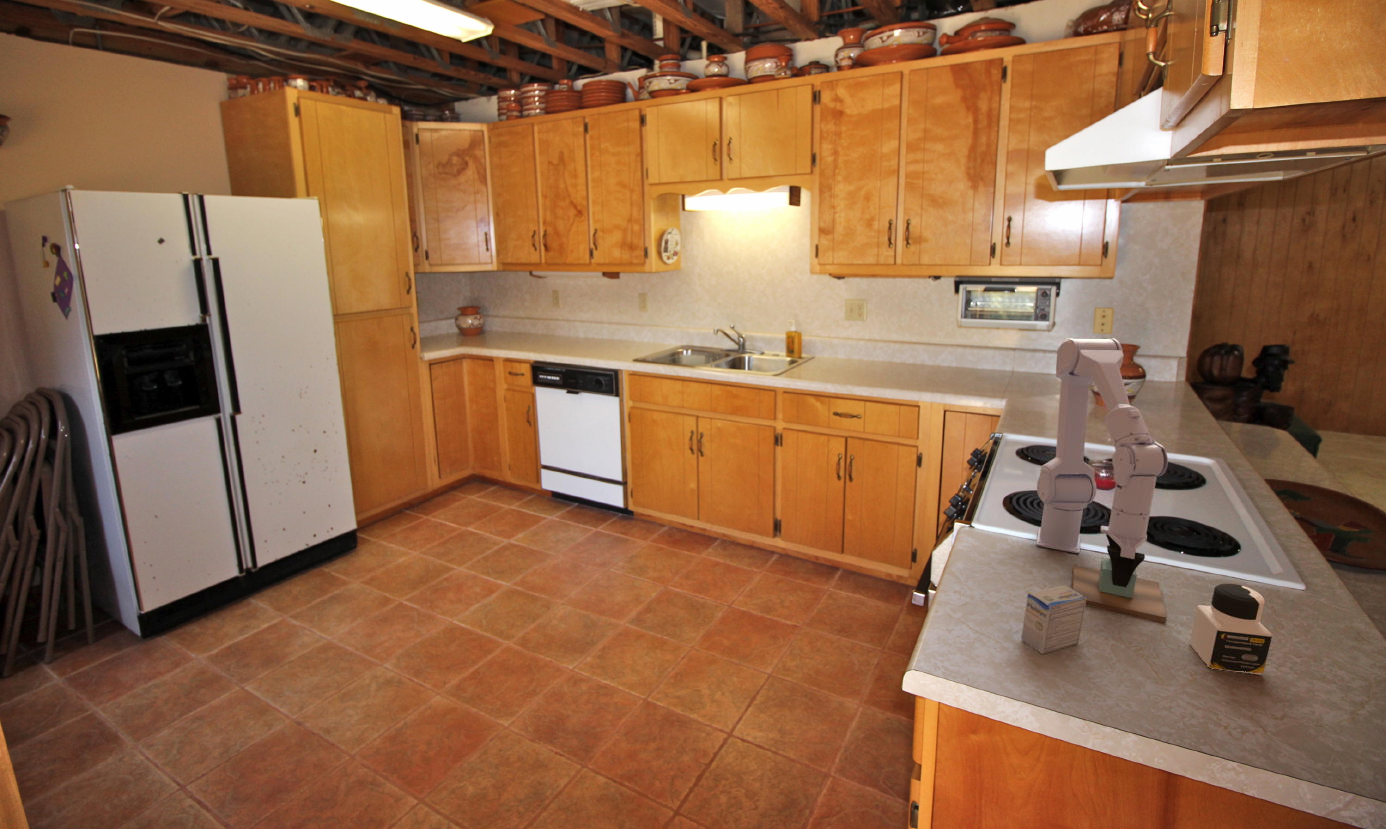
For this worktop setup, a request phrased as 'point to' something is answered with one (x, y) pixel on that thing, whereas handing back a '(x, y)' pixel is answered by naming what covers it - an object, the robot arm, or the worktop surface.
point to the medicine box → (1053, 618)
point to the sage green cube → (1107, 583)
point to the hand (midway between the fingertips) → (1118, 578)
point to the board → (1141, 605)
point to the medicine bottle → (1232, 630)
